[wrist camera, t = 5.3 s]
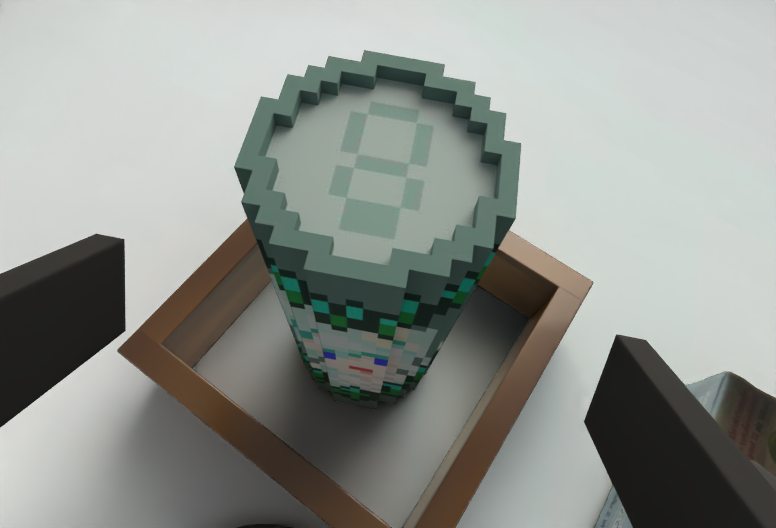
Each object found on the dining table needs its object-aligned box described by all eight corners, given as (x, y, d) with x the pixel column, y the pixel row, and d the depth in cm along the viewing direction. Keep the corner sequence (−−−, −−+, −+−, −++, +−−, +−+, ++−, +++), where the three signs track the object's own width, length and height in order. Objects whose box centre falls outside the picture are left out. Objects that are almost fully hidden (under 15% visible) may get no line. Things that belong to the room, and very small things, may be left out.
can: (291, 392, 23) (202, 250, 10) (321, 276, 26) (284, 36, 12) (418, 417, 23) (509, 307, 10) (435, 298, 26) (526, 79, 12)
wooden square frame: (156, 374, 23) (115, 350, 19) (340, 176, 29) (338, 125, 25) (404, 577, 20) (416, 597, 16) (557, 314, 26) (594, 281, 22)
